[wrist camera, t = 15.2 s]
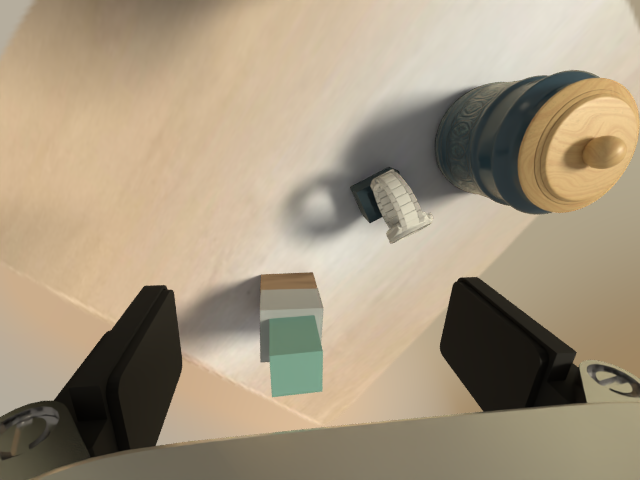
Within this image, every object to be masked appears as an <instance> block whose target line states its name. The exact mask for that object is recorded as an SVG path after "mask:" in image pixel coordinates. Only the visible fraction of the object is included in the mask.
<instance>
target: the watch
mask: <svg viewBox="0 0 640 480" xmlns="http://www.w3.org/2000/svg"><path fill="white" fill-rule="evenodd" d="M350 188H351V190H352V192H353V195H354V197H355V199H356V201H357V204H358V206H359V208H360V210H361V213H362V215H363V216H364V218H365V219H366V220H367V221H368V222H369V223H371V222H373V221H375V220H377V219H379V218H381V217H383V218H384V220H385V222H386V224H387V225H388V227H389V230H388V231H387V233H386V234H387V237H388V239H389V240H390V244H392V243H395V242H397V241H399V240H401V239H403V238H405V237H407V236H409V235H411V234H413V233H415V232H417V231H419V230H421V229H423V228H425V227H426V226H428V225H429V224H431V223H432V219H433V215H432V214H431V213H428V214H426V213H425V212H422V211H421V208H420V206H419V203H418V202H417V199H416V197H415V195H414V194H413V192H412V190H411V189H410V187H409V186H408V185H407V183H406V182H405V181H404V179H402V177H401V176H400V174H399V171H398V170H395V169H393V168H390V167H388V168H386V169H384V170H383V171H381V172H379V173H377V174H375V175H373V176H371V177H369V178H367V179H365V180H363V181H361V182H359V183H357V184H355V185H353V186H351V187H350ZM411 193H412V194H411ZM409 194H410V195H409ZM410 201H411V202H410ZM384 216H385V217H384ZM395 216H396V217H395ZM393 217H394V218H393ZM391 218H392V219H391ZM389 219H390V220H389Z"/></svg>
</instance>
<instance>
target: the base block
mask: <svg viewBox="0 0 640 480" xmlns="http://www.w3.org/2000/svg"><path fill="white" fill-rule="evenodd" d="M316 288H317V285H316V282H315V278H314V275H313V272H311V273H288V274H264V275H261V286H260V296H261V290H278V289H316Z"/></svg>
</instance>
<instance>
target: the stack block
mask: <svg viewBox="0 0 640 480" xmlns="http://www.w3.org/2000/svg"><path fill="white" fill-rule="evenodd" d="M269 357H270V372H271V388H272V397H278V396H287V395H295V394H304V393H313V392H321V391H322V372H323V350H322V346H321V341H320V337H319V333H318V329H317V324H316V320H315V316H314V315H310V316H298V317H285V318H273V319H269Z"/></svg>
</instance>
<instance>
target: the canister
mask: <svg viewBox="0 0 640 480" xmlns="http://www.w3.org/2000/svg"><path fill="white" fill-rule="evenodd" d="M638 135H639V113H638V109H637V105H636V103H635V100H634V98H633V97H632V95H631V94H630V92H629V91H628V90H627V89H626V88H625V87H624V86H623V85H621V84H619V83H618V82H616V81H613V80H610V79H606V78H600V77H598V76H597V75H594V74H592V73H589V72H585V71H579V70H570V71H563V72H559V73H556V74H553V75H550V76H547V75H542V76H534V77H529V78H526V79H523V80H520V81H513V82H495V83H490V84H485V85H482V86H480V87H477V88H475V89H473V90H471V91H470V92H468V93H466V94H464V95H463V96H461V97H460V98H459V99H458V100H457V101H455V102H454V103H453V105H452V106H451V107H450V108H449V109H448V111H447V112H446V114H445V115H444V117H443V119H442V121H441V123H440V125H439V128H438V131H437V135H436V141H435V154H436V160H437V163H438V166H439V168H440V170H441V172H442V174H443V175H444V176H445V177H446V178H447V179H448V180H449V181H450V182H451V183H452V184H453V185H454V186H456V187H457V188H459V189H461V190H464V191H466V192H469V193H473V194H479V195H482V196H485V197H487V198H490V199H491V200H493V201H495V202H497V203H500V204H503V205H508V206H511V207H513V208H514V209H516V210H518V211H521V212H524V213H528V214H548V213H552V212H556V213H557V212H558V213H563V212H571V211H575V210H578V209H581V208H583V207H586V206H588V205H589V204H591V203H593V202H595V201H596V200H598V199H599V198H600V197H602V196H603V195H604V194H605V193H606V192H608V191H609V190H610V189H611V188H612V187H613V186H614V184H615V183H616V182H617V181H618V180H619V178H620V177H621V176H622V174H623V173H624V171H625V170H626V168H627V166H628V164H629V163H630V161H631V158H632V156H633V154H634V151H635V148H636V144H637V141H638Z"/></svg>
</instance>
